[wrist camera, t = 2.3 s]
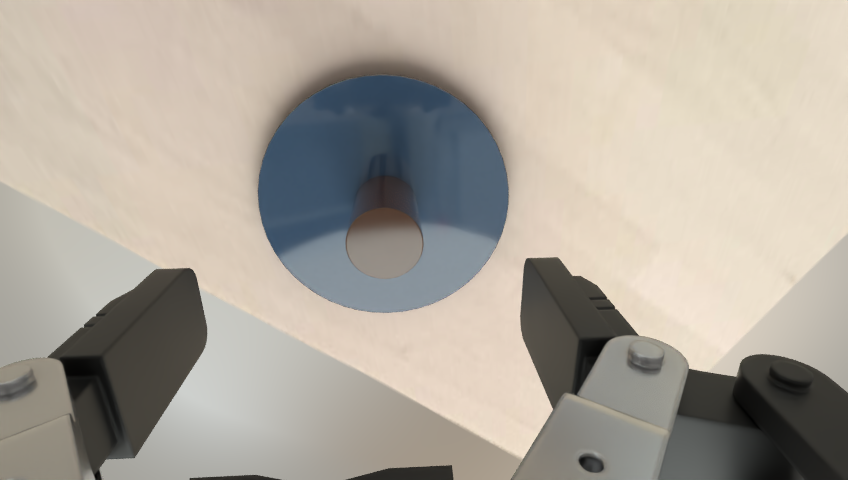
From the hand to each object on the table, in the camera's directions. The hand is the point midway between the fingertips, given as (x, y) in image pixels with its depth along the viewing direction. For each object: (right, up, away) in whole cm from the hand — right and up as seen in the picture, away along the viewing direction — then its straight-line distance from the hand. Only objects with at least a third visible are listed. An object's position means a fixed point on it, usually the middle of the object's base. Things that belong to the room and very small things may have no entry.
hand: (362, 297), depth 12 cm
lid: (-1, +4, +19) cm, 19 cm away
